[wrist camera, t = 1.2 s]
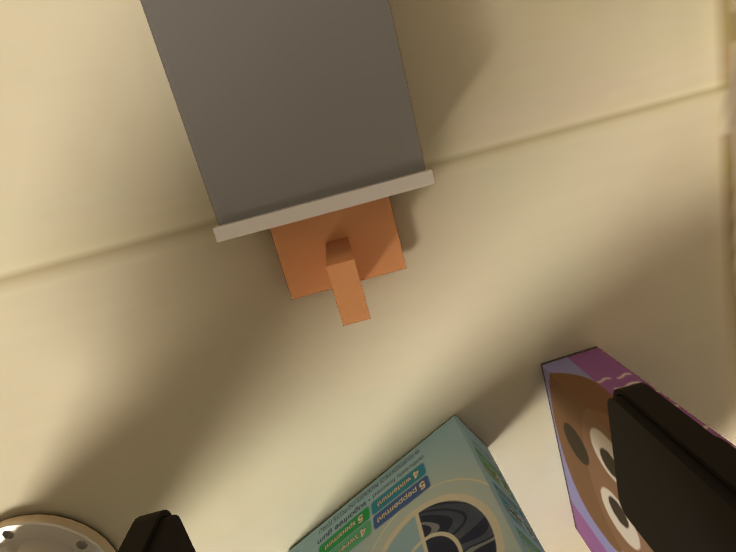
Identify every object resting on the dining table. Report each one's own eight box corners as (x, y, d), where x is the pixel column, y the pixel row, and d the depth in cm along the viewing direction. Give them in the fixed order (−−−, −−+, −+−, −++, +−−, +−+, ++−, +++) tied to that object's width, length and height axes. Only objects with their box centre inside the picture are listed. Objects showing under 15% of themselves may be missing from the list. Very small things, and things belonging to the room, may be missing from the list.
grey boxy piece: (410, 176, 33) (435, 183, 26) (241, 222, 33) (217, 242, 25) (352, -79, 29) (362, -159, 21) (157, -28, 29) (98, -92, 21)
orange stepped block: (405, 270, 34) (427, 302, 26) (294, 300, 34) (285, 341, 26) (347, 29, 29) (354, -11, 22) (218, 63, 29) (183, 34, 22)
